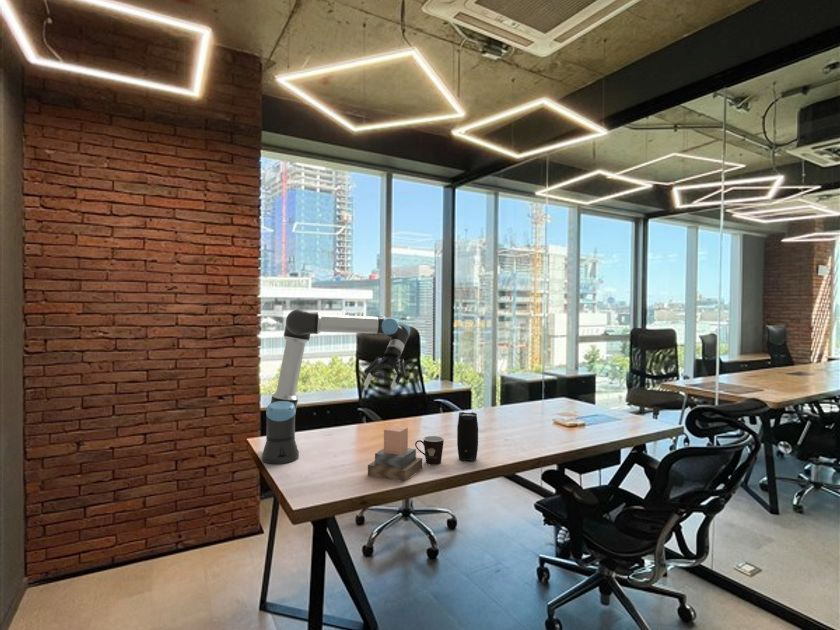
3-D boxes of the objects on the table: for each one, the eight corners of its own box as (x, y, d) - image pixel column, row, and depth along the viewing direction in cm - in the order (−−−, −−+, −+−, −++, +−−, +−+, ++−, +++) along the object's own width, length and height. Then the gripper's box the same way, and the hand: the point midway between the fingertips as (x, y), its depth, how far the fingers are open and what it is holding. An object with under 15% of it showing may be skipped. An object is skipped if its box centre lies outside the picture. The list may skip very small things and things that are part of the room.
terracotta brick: (383, 452, 176) (383, 429, 176) (391, 447, 182) (392, 425, 182) (399, 455, 173) (400, 431, 173) (407, 450, 179) (407, 427, 179)
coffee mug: (447, 462, 189) (448, 438, 189) (434, 467, 183) (434, 442, 183) (426, 456, 197) (427, 433, 197) (413, 461, 191) (413, 437, 191)
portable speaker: (471, 463, 188) (471, 416, 188) (452, 459, 194) (453, 413, 193) (482, 458, 195) (482, 413, 194) (463, 454, 200) (463, 410, 200)
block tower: (367, 475, 173) (367, 454, 173) (387, 462, 188) (387, 443, 188) (405, 481, 167) (405, 460, 167) (422, 468, 182) (422, 448, 182)
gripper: (420, 357, 211) (406, 394, 197) (373, 355, 221) (357, 390, 207) (416, 346, 206) (401, 383, 192) (368, 344, 216) (351, 380, 202)
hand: (378, 387), depth 200 cm, fingers open, 13 cm apart
